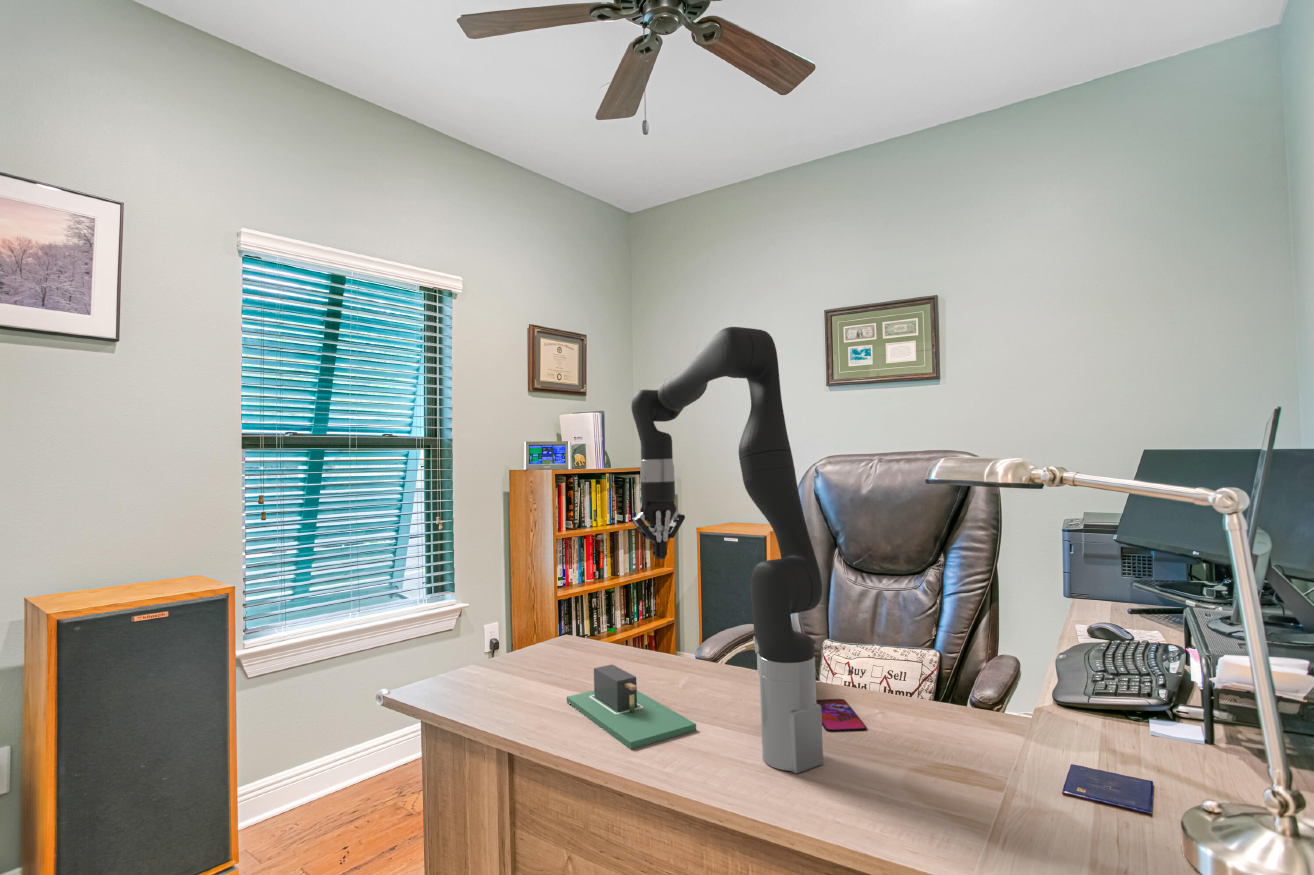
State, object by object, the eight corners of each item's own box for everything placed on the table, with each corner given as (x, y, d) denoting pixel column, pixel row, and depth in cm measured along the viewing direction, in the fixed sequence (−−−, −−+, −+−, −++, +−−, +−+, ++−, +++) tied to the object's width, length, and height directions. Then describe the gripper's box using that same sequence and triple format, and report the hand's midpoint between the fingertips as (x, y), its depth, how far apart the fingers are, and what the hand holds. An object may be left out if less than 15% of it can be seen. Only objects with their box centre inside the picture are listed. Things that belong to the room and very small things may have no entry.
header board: (696, 730, 124) (696, 723, 124) (630, 749, 117) (630, 741, 117) (624, 688, 148) (624, 682, 148) (566, 702, 140) (566, 696, 140)
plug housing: (644, 711, 131) (643, 680, 131) (625, 716, 128) (624, 685, 129) (613, 692, 142) (612, 664, 142) (594, 696, 140) (593, 668, 140)
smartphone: (826, 729, 121) (806, 699, 136) (826, 734, 121) (806, 704, 136) (868, 728, 121) (844, 698, 136) (868, 733, 121) (844, 702, 136)
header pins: (635, 712, 130) (635, 694, 130) (631, 713, 130) (630, 695, 130) (601, 691, 143) (601, 674, 143) (597, 692, 143) (596, 675, 143)
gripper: (639, 481, 140) (642, 563, 139) (691, 478, 147) (694, 557, 146) (623, 481, 146) (625, 560, 146) (673, 478, 153) (676, 554, 153)
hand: (660, 558), depth 146 cm, fingers closed
